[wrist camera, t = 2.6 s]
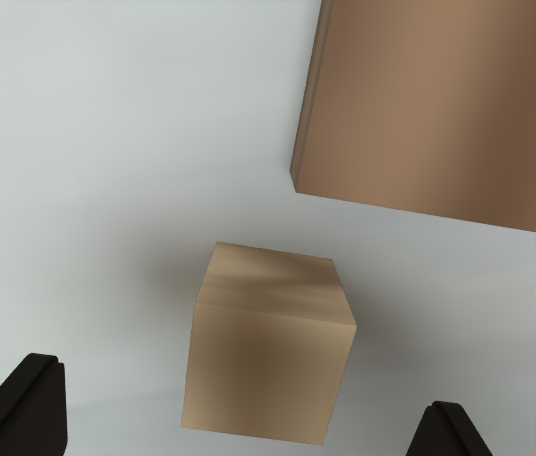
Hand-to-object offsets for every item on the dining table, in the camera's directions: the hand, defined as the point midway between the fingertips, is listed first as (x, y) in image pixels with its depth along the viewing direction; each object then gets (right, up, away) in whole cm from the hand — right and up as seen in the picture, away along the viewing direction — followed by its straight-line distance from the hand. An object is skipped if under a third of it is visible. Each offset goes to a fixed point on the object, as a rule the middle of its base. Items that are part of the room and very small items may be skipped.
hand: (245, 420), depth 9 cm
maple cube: (0, +2, +7) cm, 7 cm away
